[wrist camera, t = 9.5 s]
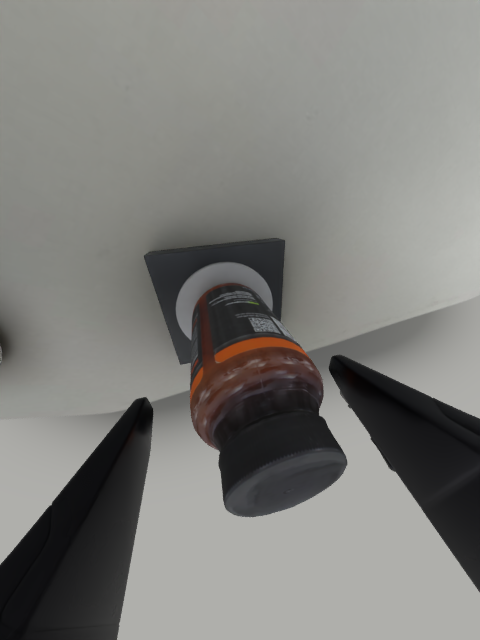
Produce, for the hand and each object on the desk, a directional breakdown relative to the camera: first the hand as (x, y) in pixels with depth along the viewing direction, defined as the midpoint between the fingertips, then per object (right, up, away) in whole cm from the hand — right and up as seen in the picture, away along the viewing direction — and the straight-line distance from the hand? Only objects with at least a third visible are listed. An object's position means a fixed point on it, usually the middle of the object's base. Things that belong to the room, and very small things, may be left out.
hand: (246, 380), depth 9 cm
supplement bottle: (-1, +3, +7) cm, 8 cm away
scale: (-2, +5, +8) cm, 9 cm away
